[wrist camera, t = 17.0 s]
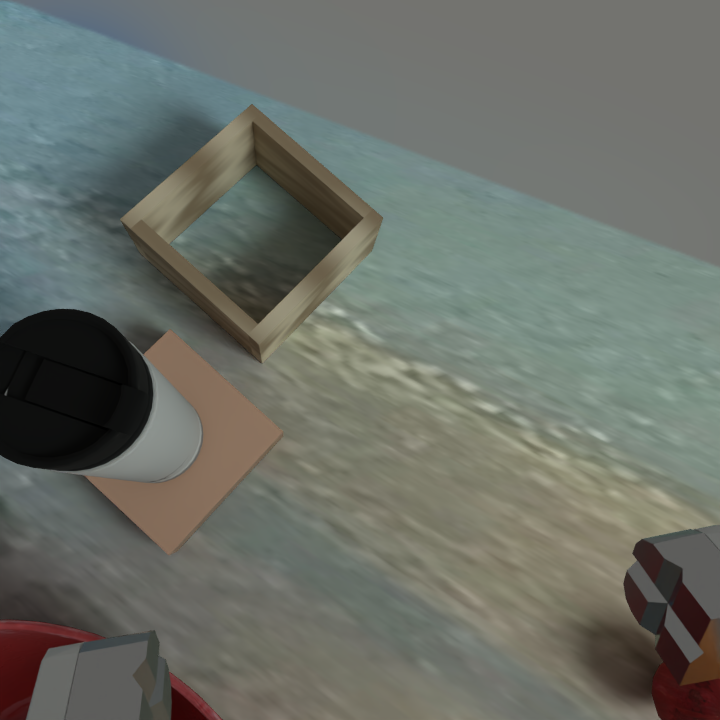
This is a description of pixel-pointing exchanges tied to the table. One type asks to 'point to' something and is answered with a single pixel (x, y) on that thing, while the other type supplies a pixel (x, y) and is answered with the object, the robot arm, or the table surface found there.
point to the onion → (685, 697)
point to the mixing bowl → (33, 639)
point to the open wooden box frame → (211, 181)
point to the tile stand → (216, 458)
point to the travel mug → (90, 402)
